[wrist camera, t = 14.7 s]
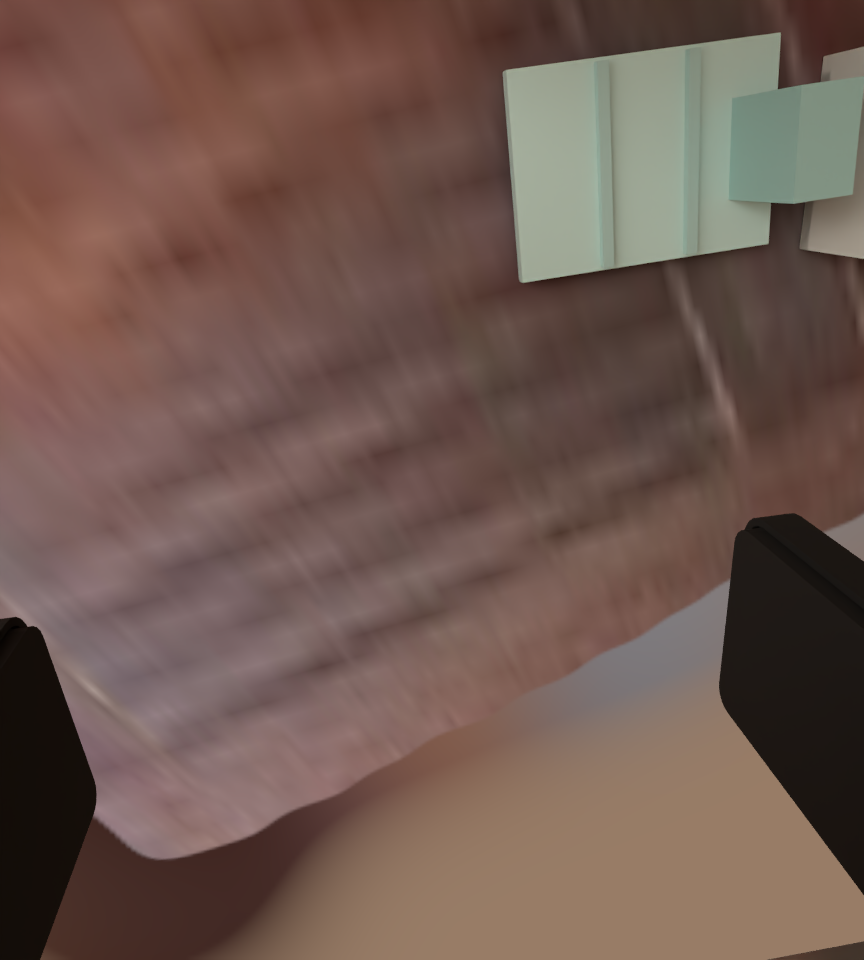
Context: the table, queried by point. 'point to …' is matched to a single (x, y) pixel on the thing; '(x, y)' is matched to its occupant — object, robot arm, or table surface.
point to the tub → (846, 219)
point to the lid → (668, 153)
